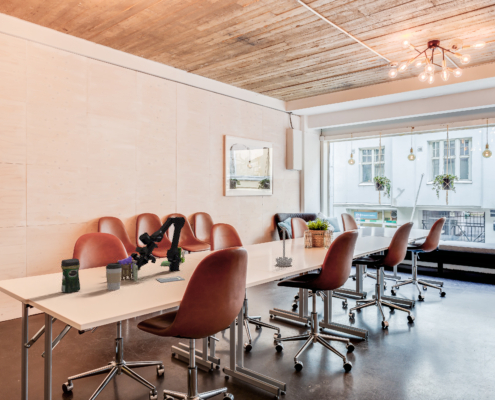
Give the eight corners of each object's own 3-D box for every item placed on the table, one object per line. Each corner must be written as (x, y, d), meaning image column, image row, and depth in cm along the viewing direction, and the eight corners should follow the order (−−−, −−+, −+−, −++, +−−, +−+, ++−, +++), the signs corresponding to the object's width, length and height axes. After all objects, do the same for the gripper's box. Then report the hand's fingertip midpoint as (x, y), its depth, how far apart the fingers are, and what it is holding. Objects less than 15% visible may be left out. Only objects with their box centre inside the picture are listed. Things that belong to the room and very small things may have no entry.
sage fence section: (131, 277, 255) (131, 262, 254) (134, 277, 256) (134, 262, 255) (134, 281, 243) (134, 266, 243) (137, 280, 244) (137, 265, 244)
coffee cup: (112, 291, 220) (112, 265, 220) (102, 289, 225) (102, 263, 224) (125, 288, 228) (125, 262, 227) (115, 286, 232) (114, 261, 232)
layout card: (179, 276, 259) (179, 276, 259) (184, 279, 250) (184, 279, 250) (155, 279, 251) (155, 278, 251) (160, 282, 242) (160, 282, 242)
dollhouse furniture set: (160, 266, 296) (160, 252, 296) (170, 260, 325) (170, 246, 325) (178, 266, 295) (178, 252, 295) (187, 260, 324) (187, 247, 324)
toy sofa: (128, 275, 263) (128, 260, 263) (116, 275, 264) (116, 260, 264) (141, 269, 283) (141, 255, 283) (130, 269, 285) (130, 255, 285)
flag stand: (293, 266, 297) (293, 227, 296) (276, 266, 297) (276, 227, 296) (291, 263, 310) (291, 226, 309) (275, 263, 310) (275, 226, 309)
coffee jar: (76, 288, 226) (76, 257, 226) (81, 291, 220) (81, 258, 220) (59, 291, 219) (59, 259, 219) (64, 294, 214) (64, 260, 213)
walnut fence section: (130, 278, 254) (130, 263, 254) (131, 278, 253) (131, 263, 253) (112, 280, 248) (112, 264, 248) (113, 280, 247) (113, 265, 247)
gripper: (132, 240, 259) (119, 259, 250) (152, 242, 249) (140, 262, 240) (141, 250, 266) (129, 269, 257) (161, 253, 257) (149, 272, 247)
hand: (136, 268), depth 250 cm, fingers closed
